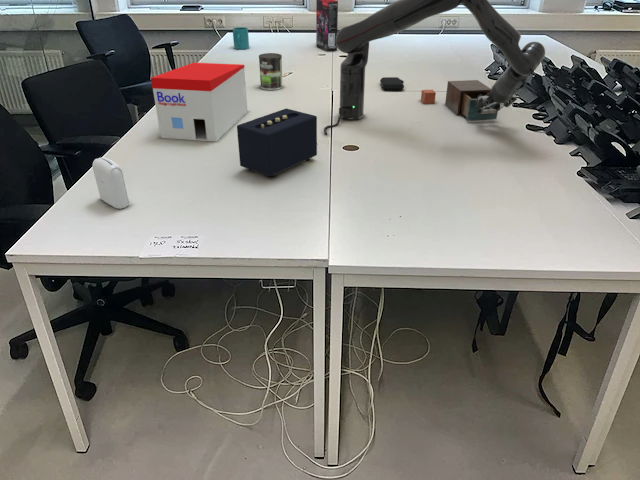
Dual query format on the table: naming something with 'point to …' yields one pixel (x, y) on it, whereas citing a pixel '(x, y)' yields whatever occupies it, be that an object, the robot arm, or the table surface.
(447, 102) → the box
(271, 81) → the coffee can
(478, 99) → the robot arm
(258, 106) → the table surface
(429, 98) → the block
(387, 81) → the carrying case
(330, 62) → the table surface
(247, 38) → the cup
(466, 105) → the drawer
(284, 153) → the speaker
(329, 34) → the graphics card box
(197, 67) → the bookstore
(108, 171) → the photo printer
